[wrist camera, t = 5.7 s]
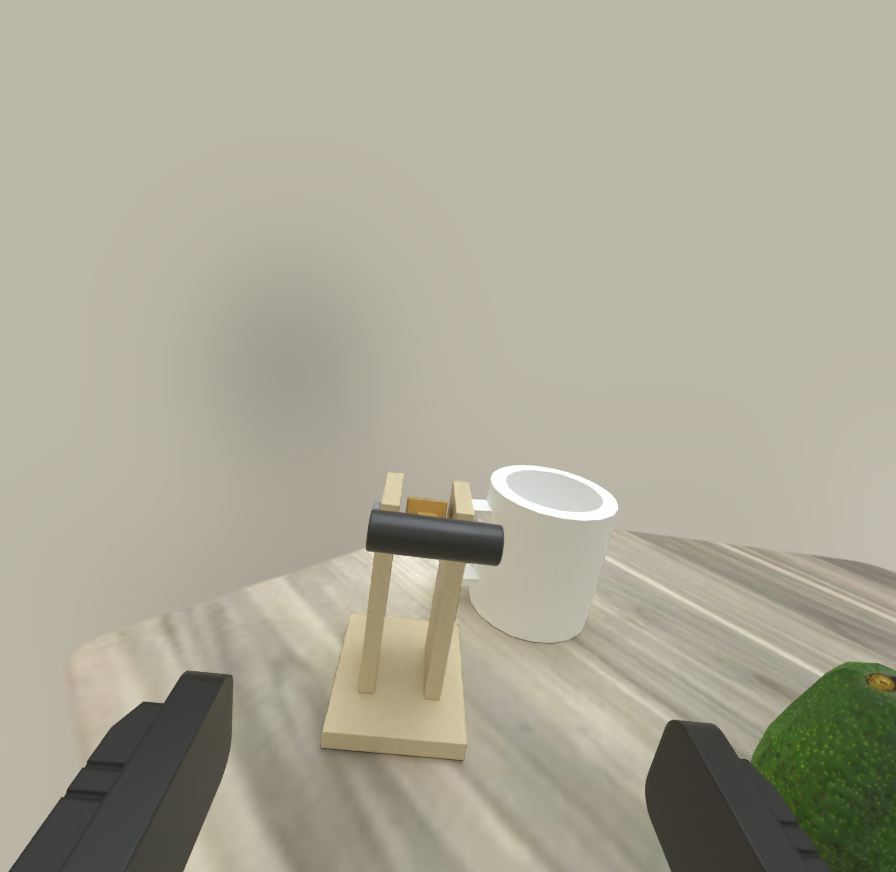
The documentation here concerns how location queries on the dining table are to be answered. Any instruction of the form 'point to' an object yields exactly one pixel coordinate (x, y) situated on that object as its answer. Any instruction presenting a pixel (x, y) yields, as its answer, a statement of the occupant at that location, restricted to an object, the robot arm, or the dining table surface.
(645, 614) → the dining table surface
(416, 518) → the lever
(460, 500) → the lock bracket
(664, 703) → the dining table surface
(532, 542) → the mug
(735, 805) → the robot arm
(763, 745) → the avocado
